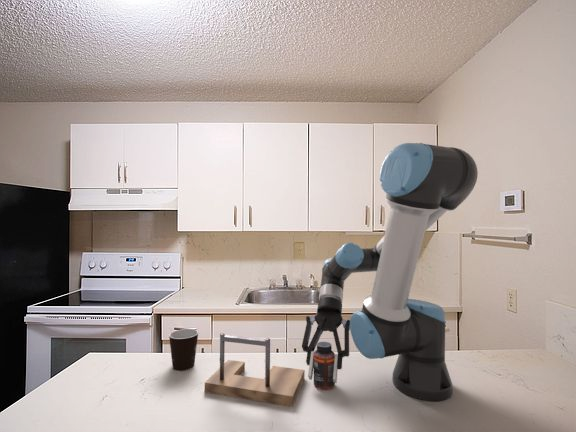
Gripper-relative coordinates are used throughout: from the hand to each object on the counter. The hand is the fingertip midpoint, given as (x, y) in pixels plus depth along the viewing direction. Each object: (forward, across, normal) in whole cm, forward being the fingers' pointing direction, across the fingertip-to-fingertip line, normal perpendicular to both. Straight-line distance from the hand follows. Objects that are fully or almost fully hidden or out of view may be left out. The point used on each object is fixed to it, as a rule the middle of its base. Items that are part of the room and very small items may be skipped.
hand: (322, 379), depth 82 cm
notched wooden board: (+3, +18, -1) cm, 18 cm away
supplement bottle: (0, 0, -5) cm, 5 cm away
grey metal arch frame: (+4, +20, +3) cm, 21 cm away
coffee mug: (-1, +44, -6) cm, 44 cm away
